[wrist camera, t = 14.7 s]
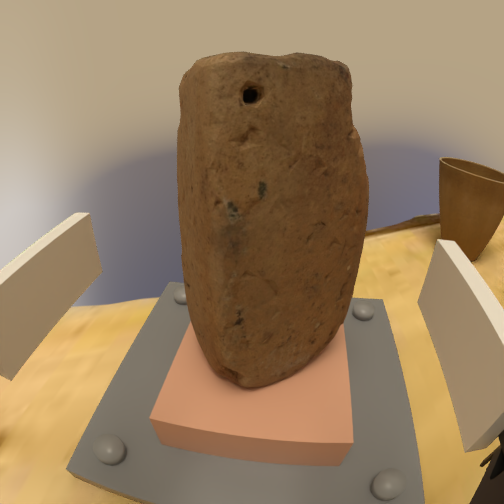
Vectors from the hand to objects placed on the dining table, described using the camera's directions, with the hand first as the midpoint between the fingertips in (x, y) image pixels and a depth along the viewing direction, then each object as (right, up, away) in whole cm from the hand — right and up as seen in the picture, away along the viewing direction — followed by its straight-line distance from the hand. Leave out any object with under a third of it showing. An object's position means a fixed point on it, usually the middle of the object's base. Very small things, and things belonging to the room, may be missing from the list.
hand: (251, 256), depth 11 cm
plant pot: (+38, 0, +39) cm, 54 cm away
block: (+1, -7, +13) cm, 15 cm away
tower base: (+1, -12, +15) cm, 20 cm away
